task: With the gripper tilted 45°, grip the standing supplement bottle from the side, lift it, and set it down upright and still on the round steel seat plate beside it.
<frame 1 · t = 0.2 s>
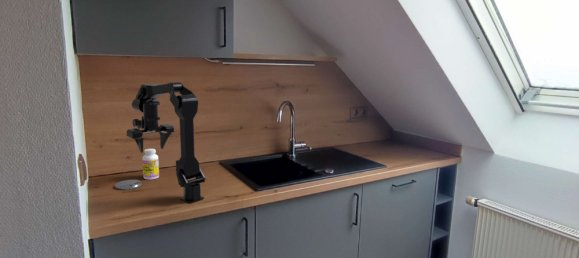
hand: (151, 150, 157), 14 cm above the worktop, tool pointing down, fingers open, 9 cm apart
supplement bottle: (151, 178, 166), on the worktop
steel seat plate: (128, 185, 155), on the worktop
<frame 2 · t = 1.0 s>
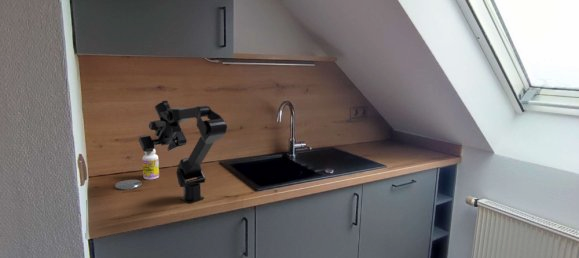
hand: (158, 152, 158), 13 cm above the worktop, tool tilted 45°, fingers open, 9 cm apart
nothing on the worktop moved.
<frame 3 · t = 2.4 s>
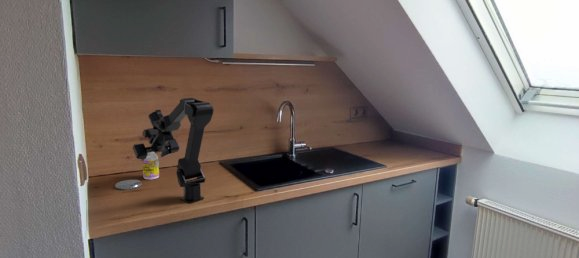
hand: (151, 158, 163), 9 cm above the worktop, tool tilted 45°, fingers open, 9 cm apart
nothing on the worktop moved.
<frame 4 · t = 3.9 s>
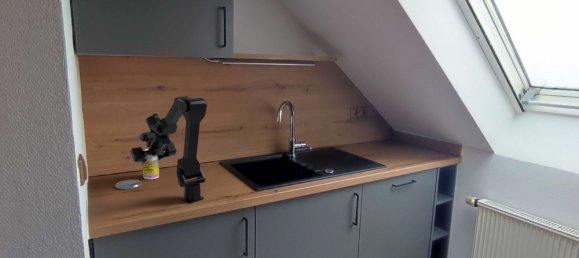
hand: (149, 161, 165), 7 cm above the worktop, tool tilted 45°, fingers closed on supplement bottle, 7 cm apart
supplement bottle: (151, 178, 166), on the worktop, touching gripper
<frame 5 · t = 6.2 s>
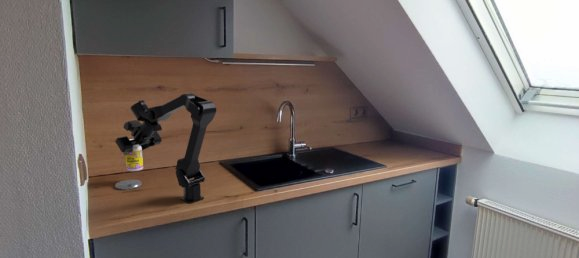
hand: (131, 152, 157), 13 cm above the worktop, tool tilted 45°, fingers closed on supplement bottle, 7 cm apart
supplement bottle: (135, 169, 157), point 6 cm above the worktop, touching gripper
when the fingers open (9 cm above the worktop, at t = 8.5 s): supplement bottle stays where it is, resting on steel seat plate.
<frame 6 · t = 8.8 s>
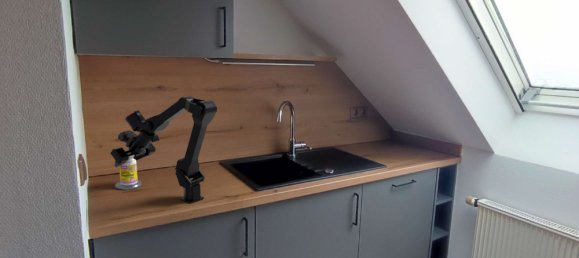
hand: (124, 163, 154), 10 cm above the worktop, tool tilted 45°, fingers open, 9 cm apart
supplement bottle: (129, 184, 155), point 1 cm above the worktop, touching steel seat plate
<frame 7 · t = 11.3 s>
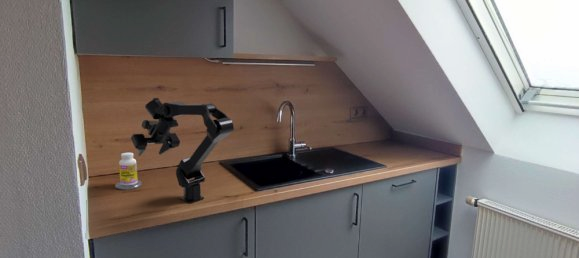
hand: (149, 154, 152), 14 cm above the worktop, tool tilted 40°, fingers open, 9 cm apart
nothing on the worktop moved.
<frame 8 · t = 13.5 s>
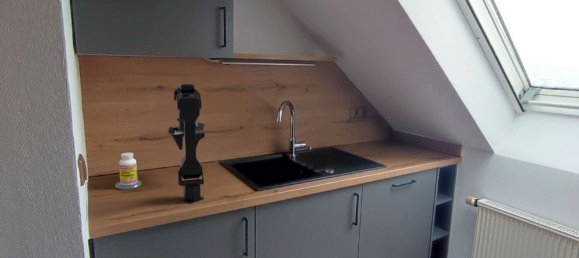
hand: (187, 151, 161), 13 cm above the worktop, tool pointing down, fingers open, 9 cm apart
nothing on the worktop moved.
at the end: supplement bottle 0.3 cm from the steel seat plate (horizontally); supplement bottle point 0.8 cm above the worktop; supplement bottle tilted 0° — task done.
